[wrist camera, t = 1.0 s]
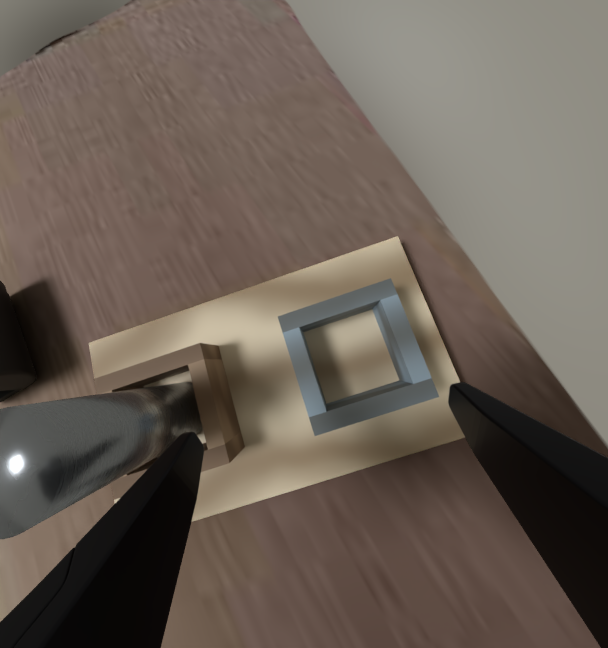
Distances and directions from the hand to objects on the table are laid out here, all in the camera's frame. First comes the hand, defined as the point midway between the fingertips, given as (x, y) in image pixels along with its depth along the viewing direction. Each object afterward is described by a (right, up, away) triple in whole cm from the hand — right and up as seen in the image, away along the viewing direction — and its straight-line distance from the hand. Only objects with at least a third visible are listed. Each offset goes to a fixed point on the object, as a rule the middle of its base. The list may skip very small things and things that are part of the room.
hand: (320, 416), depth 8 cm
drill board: (-4, -2, +12) cm, 13 cm away
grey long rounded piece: (-10, -4, +11) cm, 16 cm away
